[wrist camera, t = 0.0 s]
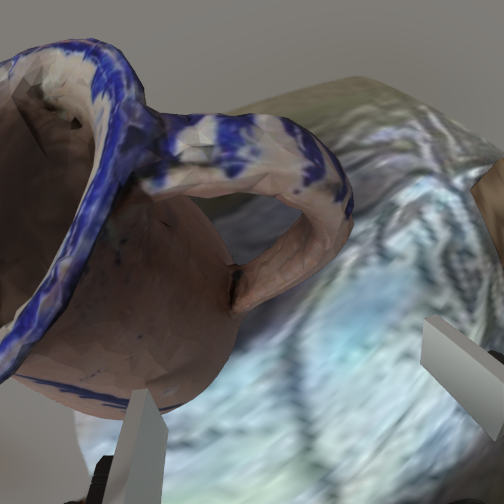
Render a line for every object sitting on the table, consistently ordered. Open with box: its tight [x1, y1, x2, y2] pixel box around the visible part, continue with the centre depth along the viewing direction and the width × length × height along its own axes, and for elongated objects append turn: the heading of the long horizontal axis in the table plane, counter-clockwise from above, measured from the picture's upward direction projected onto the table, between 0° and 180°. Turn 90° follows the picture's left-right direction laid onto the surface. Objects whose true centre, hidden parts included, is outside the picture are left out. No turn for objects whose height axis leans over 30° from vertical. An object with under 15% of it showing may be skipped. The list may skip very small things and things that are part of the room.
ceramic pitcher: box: [0, 38, 354, 420], centre depth 18 cm, size 18×21×25 cm
